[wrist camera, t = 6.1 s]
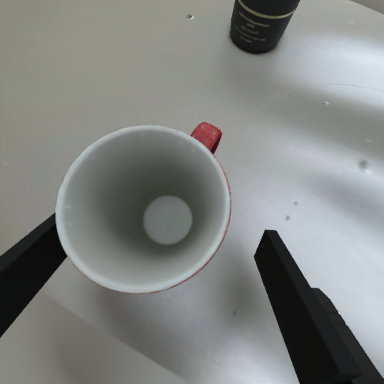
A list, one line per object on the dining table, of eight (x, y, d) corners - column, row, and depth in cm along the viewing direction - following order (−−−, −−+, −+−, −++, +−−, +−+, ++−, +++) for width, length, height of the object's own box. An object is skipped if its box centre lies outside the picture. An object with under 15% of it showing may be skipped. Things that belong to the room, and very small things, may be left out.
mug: (175, 273, 20) (158, 344, 7) (118, 228, 21) (11, 215, 8) (230, 193, 23) (291, 136, 10) (178, 157, 24) (172, 63, 11)
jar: (271, 63, 30) (299, 6, 22) (220, 44, 30) (231, -17, 23) (284, 28, 32) (314, -33, 25) (237, 12, 33) (252, -53, 26)
